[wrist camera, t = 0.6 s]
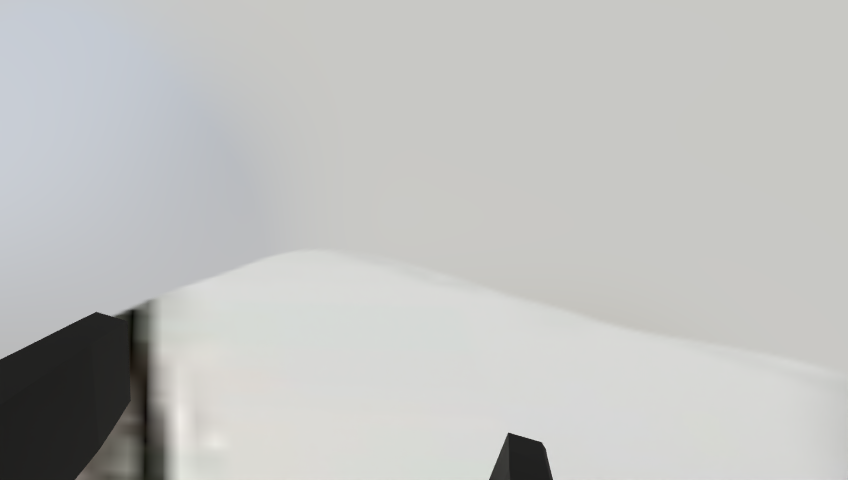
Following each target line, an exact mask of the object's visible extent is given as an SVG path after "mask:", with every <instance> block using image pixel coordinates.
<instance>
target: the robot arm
mask: <svg viewBox="0 0 848 480" xmlns="http://www.w3.org/2000/svg"><path fill="white" fill-rule="evenodd" d="M130 401H131V400H130V375H129V350H128V325H127V321H125V320H122V319H118V318H115V317H111V316H108V315H105V314H101V313H98V312H95V313H93V314H91V315H89V316H87V317H85V318H83V319H81V320H79V321H77V322H75V323H73V324H71V325H69V326H67V327H65V328H63V329H61V330H59V331H57V332H55V333H53V334H51V335H49V336H47V337H45V338H43V339H41V340H39V341H37V342H35V343H33V344H31V345H29V346H27V347H25V348H23V349H21V350H19V351H17V352H15V353H13V354H11V355H9V356H7V357H4V358H3V359H1V360H0V480H75V479H76V478H77V476H78V475H79V474H80V473H81V471H82V470H83V469H84V468H85V467H86V465H87V464H88V463H89V462H90V460H91V459H92V458H93V457H94V455H95V454H96V453H97V452H98V450H99V449H100V448H101V446H102V445H103V443H104V442H105V440H106V439H107V437H108V435H109V434H110V432H111V431H112V429H113V428H114V426H115V425H116V423H117V422H118V420H119V418H120V417H121V415H122V413H123V412H124V410H125V409H126V407H127V405H128V404H129V402H130ZM489 480H553V478H552V474H551V470H550V466H549V462H548V458H547V453H546V449H545V447H544V445H543V444H542V442H539V441H535V440H532V439H528V438H525V437H522V436H518V435H515V434H511V433H508V435H507V437H506V439H505V442H504V444H503V447H502V449H501V452H500V454H499V457H498V459H497V462H496V464H495V467H494V469H493V472H492V474H491V476H490V479H489Z"/></svg>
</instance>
